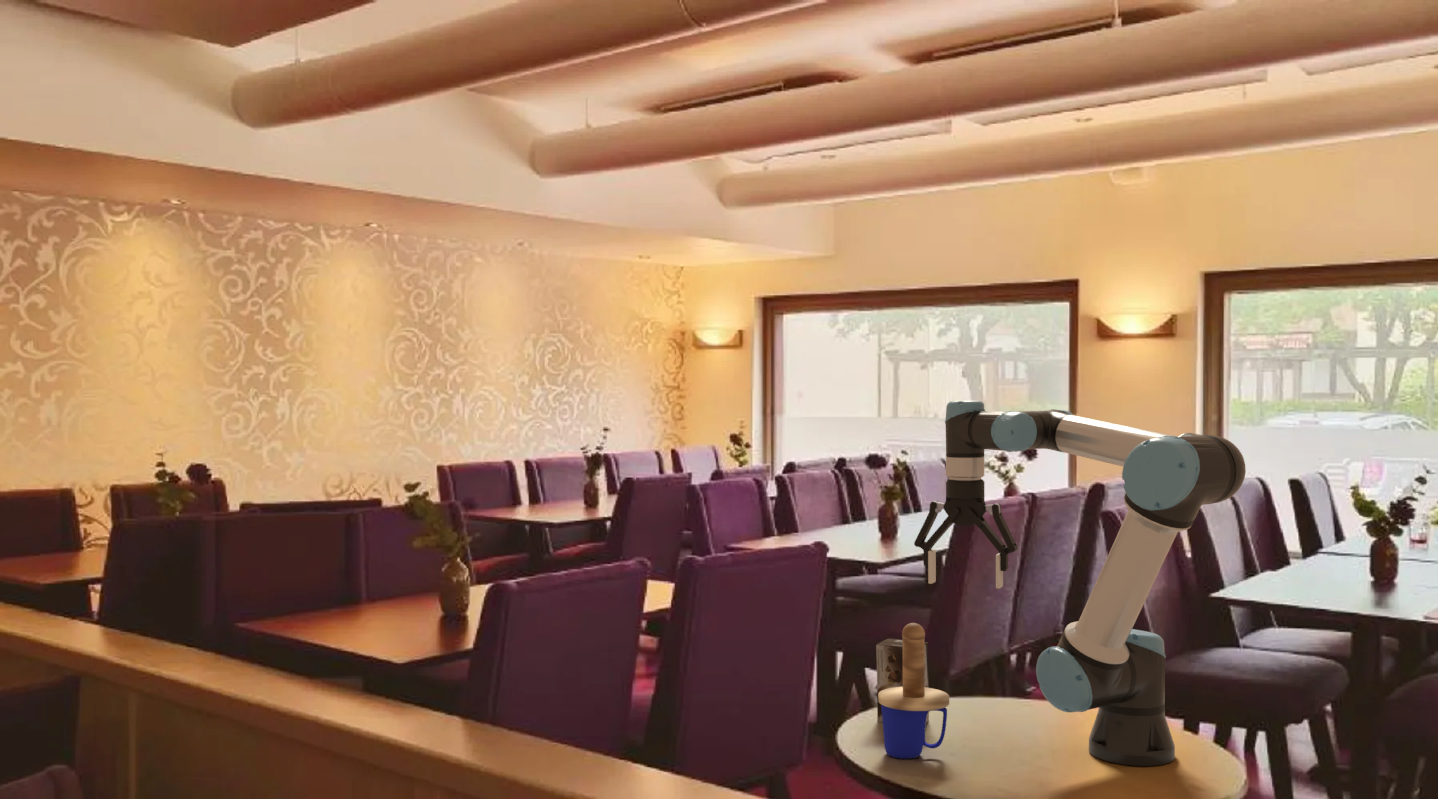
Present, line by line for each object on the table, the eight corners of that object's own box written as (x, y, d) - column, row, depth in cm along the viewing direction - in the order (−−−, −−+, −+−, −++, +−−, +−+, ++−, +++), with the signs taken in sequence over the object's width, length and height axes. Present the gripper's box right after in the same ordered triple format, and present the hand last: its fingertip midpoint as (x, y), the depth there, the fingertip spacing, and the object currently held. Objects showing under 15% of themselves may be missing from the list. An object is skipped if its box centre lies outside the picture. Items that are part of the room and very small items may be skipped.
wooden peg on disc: (956, 696, 231) (956, 619, 231) (940, 714, 219) (940, 632, 219) (888, 690, 236) (888, 614, 236) (869, 706, 224) (869, 626, 224)
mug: (946, 764, 222) (946, 709, 222) (879, 760, 225) (879, 706, 224) (947, 750, 230) (947, 697, 230) (882, 747, 233) (882, 694, 232)
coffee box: (930, 720, 250) (929, 642, 250) (917, 728, 245) (917, 647, 245) (889, 714, 255) (888, 637, 255) (875, 721, 250) (875, 642, 250)
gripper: (1032, 478, 241) (1032, 586, 242) (910, 475, 253) (910, 578, 253) (1023, 481, 235) (1024, 592, 235) (898, 477, 246) (899, 583, 246)
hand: (965, 585), depth 244 cm, fingers open, 13 cm apart
